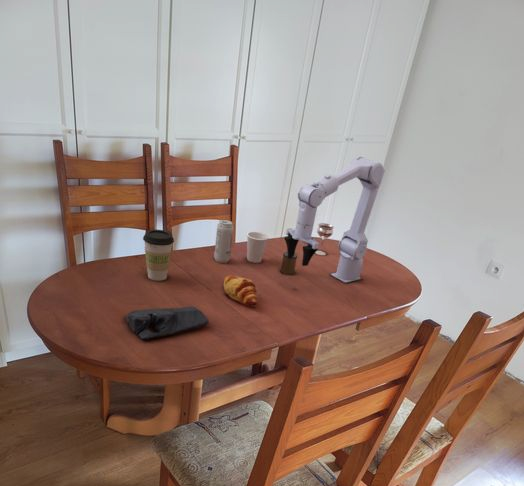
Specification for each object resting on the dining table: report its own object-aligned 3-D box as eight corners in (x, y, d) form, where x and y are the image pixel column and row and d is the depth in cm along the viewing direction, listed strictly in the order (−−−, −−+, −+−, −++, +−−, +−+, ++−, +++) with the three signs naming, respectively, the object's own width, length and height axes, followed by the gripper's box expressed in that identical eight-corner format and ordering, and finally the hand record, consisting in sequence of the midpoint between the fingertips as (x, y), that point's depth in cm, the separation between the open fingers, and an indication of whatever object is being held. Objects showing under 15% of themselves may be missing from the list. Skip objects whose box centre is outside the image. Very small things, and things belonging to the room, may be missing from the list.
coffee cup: (136, 277, 158) (136, 233, 150) (153, 268, 166) (154, 226, 158) (161, 285, 155) (163, 242, 147) (177, 276, 163) (179, 234, 155)
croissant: (218, 291, 166) (209, 273, 160) (242, 277, 167) (234, 259, 162) (246, 319, 151) (238, 301, 145) (272, 303, 152) (265, 284, 147)
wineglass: (312, 248, 208) (318, 222, 201) (327, 251, 208) (333, 224, 201) (312, 254, 202) (318, 226, 196) (327, 257, 202) (334, 229, 196)
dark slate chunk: (214, 332, 135) (215, 318, 133) (137, 343, 125) (138, 327, 122) (194, 307, 146) (195, 293, 144) (122, 315, 136) (122, 300, 133)
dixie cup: (249, 264, 182) (253, 239, 176) (240, 256, 188) (243, 231, 182) (268, 263, 186) (272, 238, 180) (258, 255, 192) (262, 231, 186)
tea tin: (287, 268, 185) (290, 250, 181) (297, 273, 181) (300, 256, 178) (277, 270, 181) (280, 252, 178) (286, 275, 178) (290, 258, 174)
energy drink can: (229, 264, 179) (233, 225, 171) (213, 262, 178) (217, 223, 170) (230, 258, 184) (234, 220, 176) (214, 256, 184) (218, 218, 176)
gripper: (282, 216, 160) (275, 254, 167) (311, 231, 151) (303, 270, 158) (297, 215, 164) (290, 252, 171) (326, 229, 155) (318, 268, 162)
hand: (297, 261), depth 165 cm, fingers open, 7 cm apart
